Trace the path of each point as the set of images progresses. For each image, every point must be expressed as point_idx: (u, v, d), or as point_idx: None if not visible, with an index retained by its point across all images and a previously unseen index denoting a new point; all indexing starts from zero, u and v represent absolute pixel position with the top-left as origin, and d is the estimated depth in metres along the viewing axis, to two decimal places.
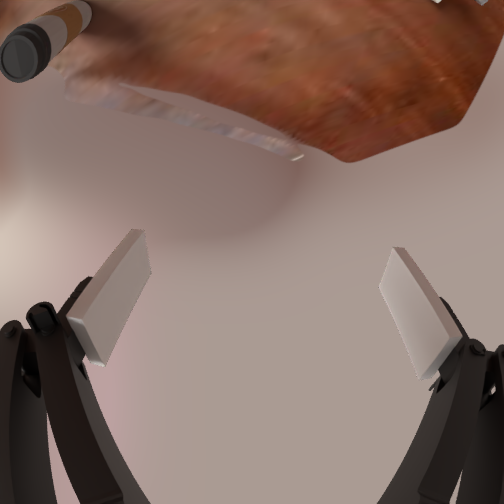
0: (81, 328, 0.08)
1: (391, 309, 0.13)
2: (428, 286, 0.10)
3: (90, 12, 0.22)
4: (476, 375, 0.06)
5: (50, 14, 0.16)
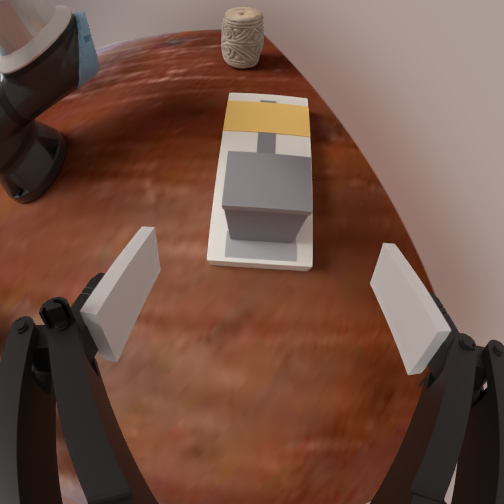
0: (95, 323, 0.08)
1: (382, 304, 0.13)
2: (417, 281, 0.11)
3: None
4: (466, 370, 0.06)
5: None
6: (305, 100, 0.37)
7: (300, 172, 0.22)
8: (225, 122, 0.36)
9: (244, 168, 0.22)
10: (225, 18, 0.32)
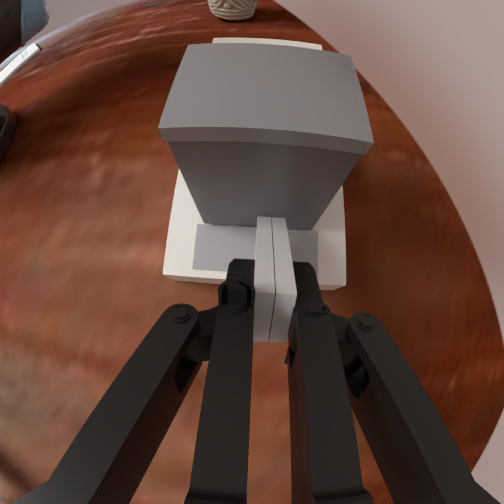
0: (267, 303, 0.10)
1: None
2: (285, 249, 0.12)
3: None
4: (325, 340, 0.08)
5: None
6: (318, 46, 0.23)
7: (335, 73, 0.09)
8: None
9: (217, 64, 0.09)
10: None
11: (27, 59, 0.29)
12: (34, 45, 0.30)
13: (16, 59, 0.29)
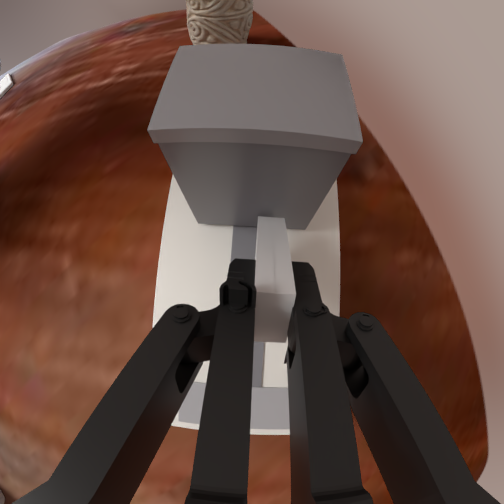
0: (268, 303, 0.10)
1: None
2: (284, 249, 0.12)
3: None
4: (324, 340, 0.08)
5: None
6: None
7: (325, 72, 0.09)
8: None
9: (207, 65, 0.09)
10: None
11: (0, 95, 0.27)
12: (8, 77, 0.28)
13: None
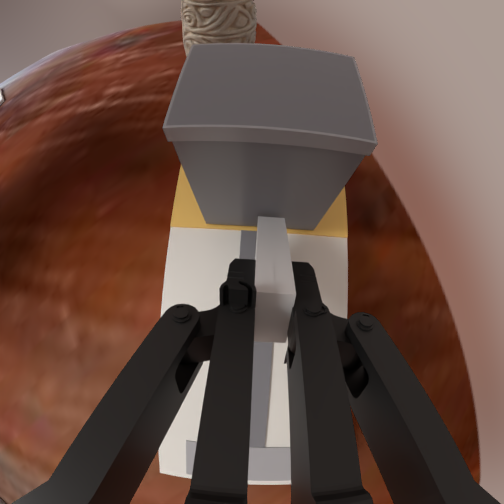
0: (268, 303, 0.10)
1: None
2: (284, 249, 0.12)
3: None
4: (324, 340, 0.08)
5: None
6: None
7: (339, 74, 0.09)
8: (175, 206, 0.18)
9: (221, 64, 0.09)
10: None
11: None
12: None
13: None
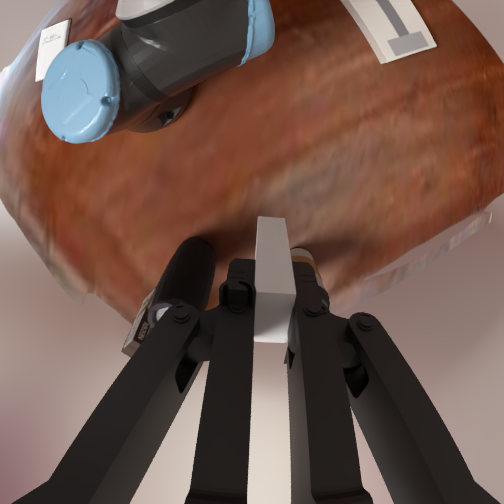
0: (268, 303, 0.10)
1: None
2: (284, 249, 0.12)
3: (307, 252, 0.53)
4: (324, 340, 0.08)
5: None
6: None
7: None
8: None
9: None
10: None
11: (67, 33, 0.30)
12: (51, 27, 0.28)
13: (43, 50, 0.30)
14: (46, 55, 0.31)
